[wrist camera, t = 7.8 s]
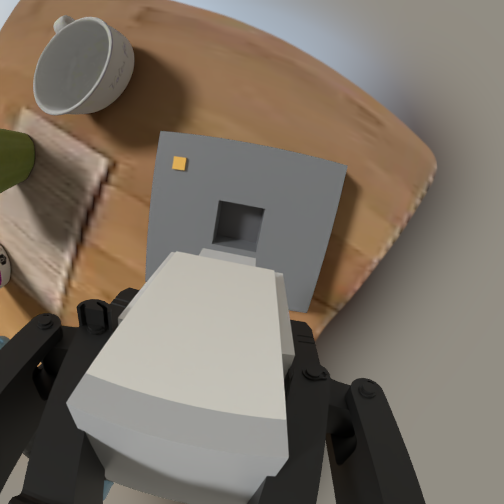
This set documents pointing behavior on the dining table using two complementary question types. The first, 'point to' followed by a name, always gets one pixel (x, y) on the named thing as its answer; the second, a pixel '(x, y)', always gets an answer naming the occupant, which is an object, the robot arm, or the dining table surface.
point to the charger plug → (191, 384)
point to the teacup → (82, 67)
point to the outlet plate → (244, 206)
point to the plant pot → (15, 158)
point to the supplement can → (4, 268)
